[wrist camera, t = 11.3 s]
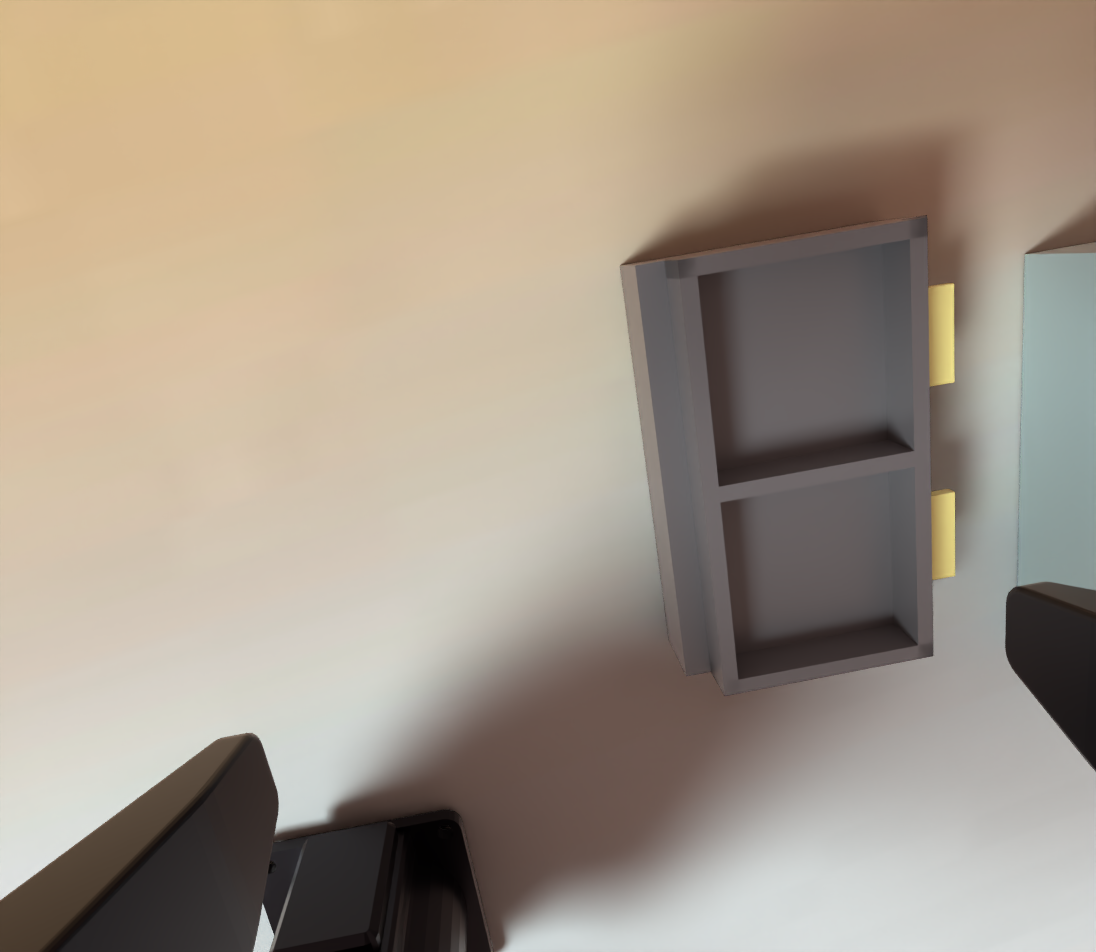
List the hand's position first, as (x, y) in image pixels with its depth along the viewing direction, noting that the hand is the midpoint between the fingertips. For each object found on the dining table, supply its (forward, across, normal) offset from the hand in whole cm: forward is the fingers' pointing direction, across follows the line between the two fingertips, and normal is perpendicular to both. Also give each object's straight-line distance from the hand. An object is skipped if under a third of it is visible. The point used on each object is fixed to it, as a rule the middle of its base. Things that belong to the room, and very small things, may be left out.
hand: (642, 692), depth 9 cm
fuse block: (+12, -6, +1) cm, 13 cm away
